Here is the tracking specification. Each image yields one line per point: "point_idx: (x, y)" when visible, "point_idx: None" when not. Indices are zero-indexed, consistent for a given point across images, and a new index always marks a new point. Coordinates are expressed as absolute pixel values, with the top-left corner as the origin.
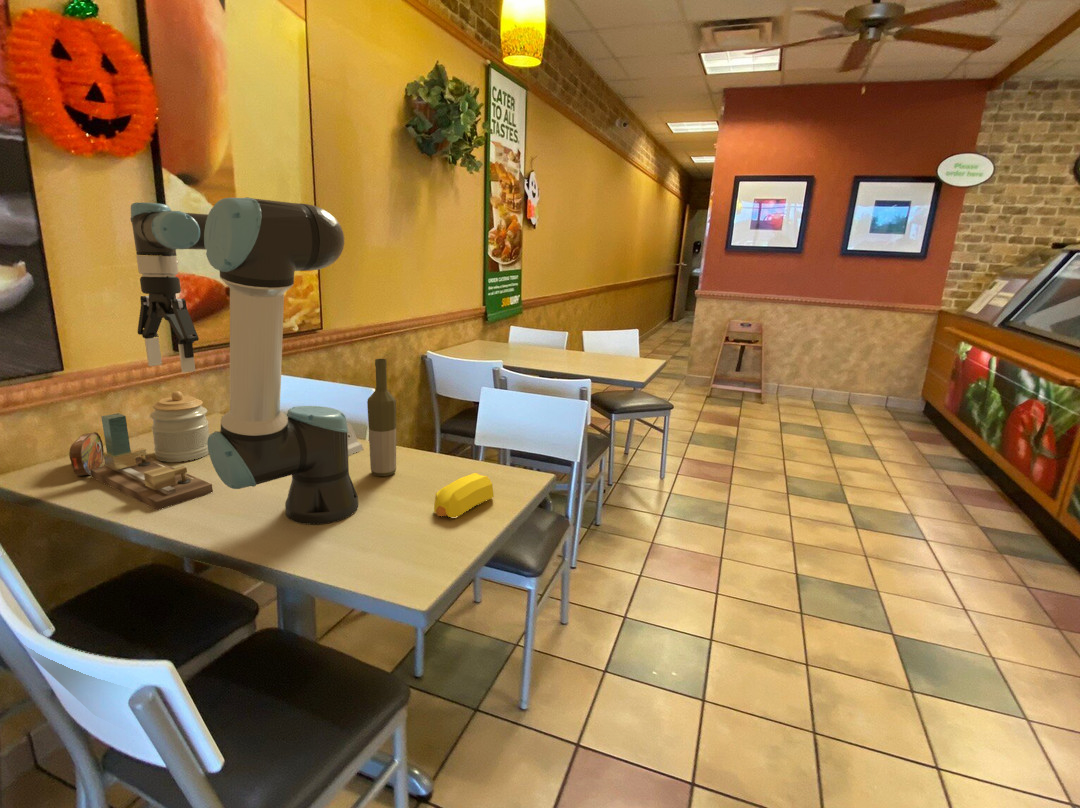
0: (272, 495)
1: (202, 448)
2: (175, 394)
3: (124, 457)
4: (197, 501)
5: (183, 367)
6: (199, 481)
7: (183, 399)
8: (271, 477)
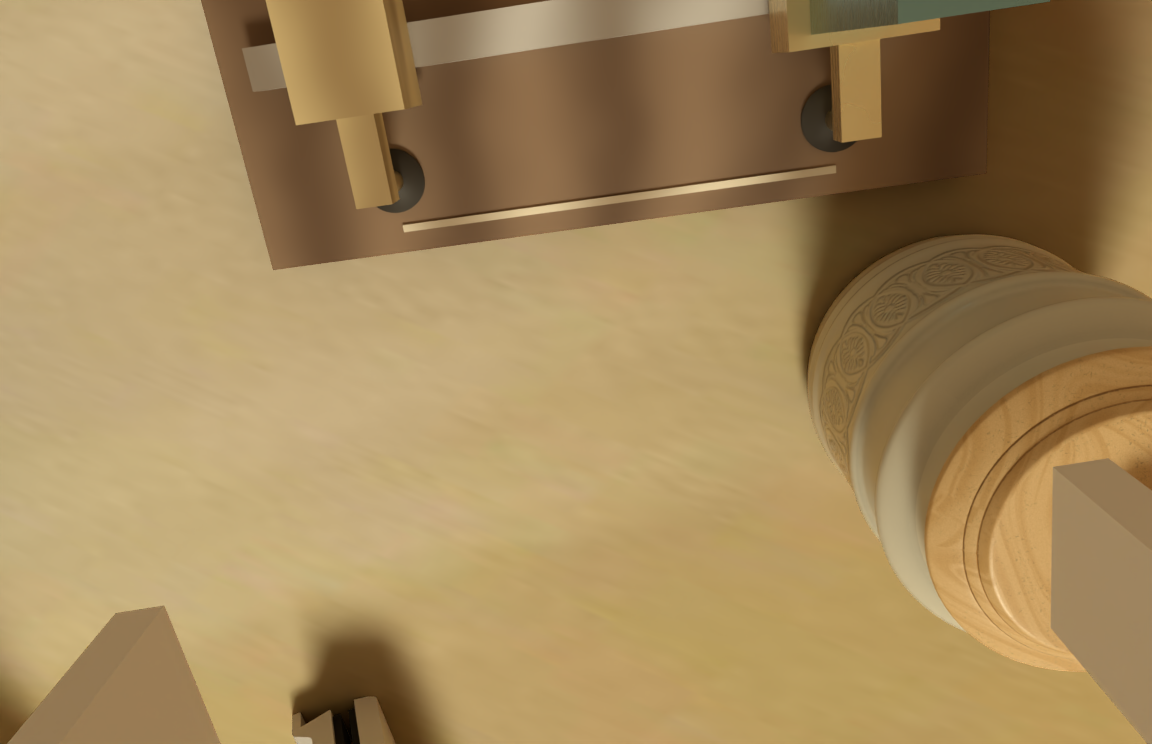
0: (90, 430)
1: (823, 439)
2: None
3: None
4: (216, 161)
5: (76, 674)
6: (350, 239)
7: None
8: None
